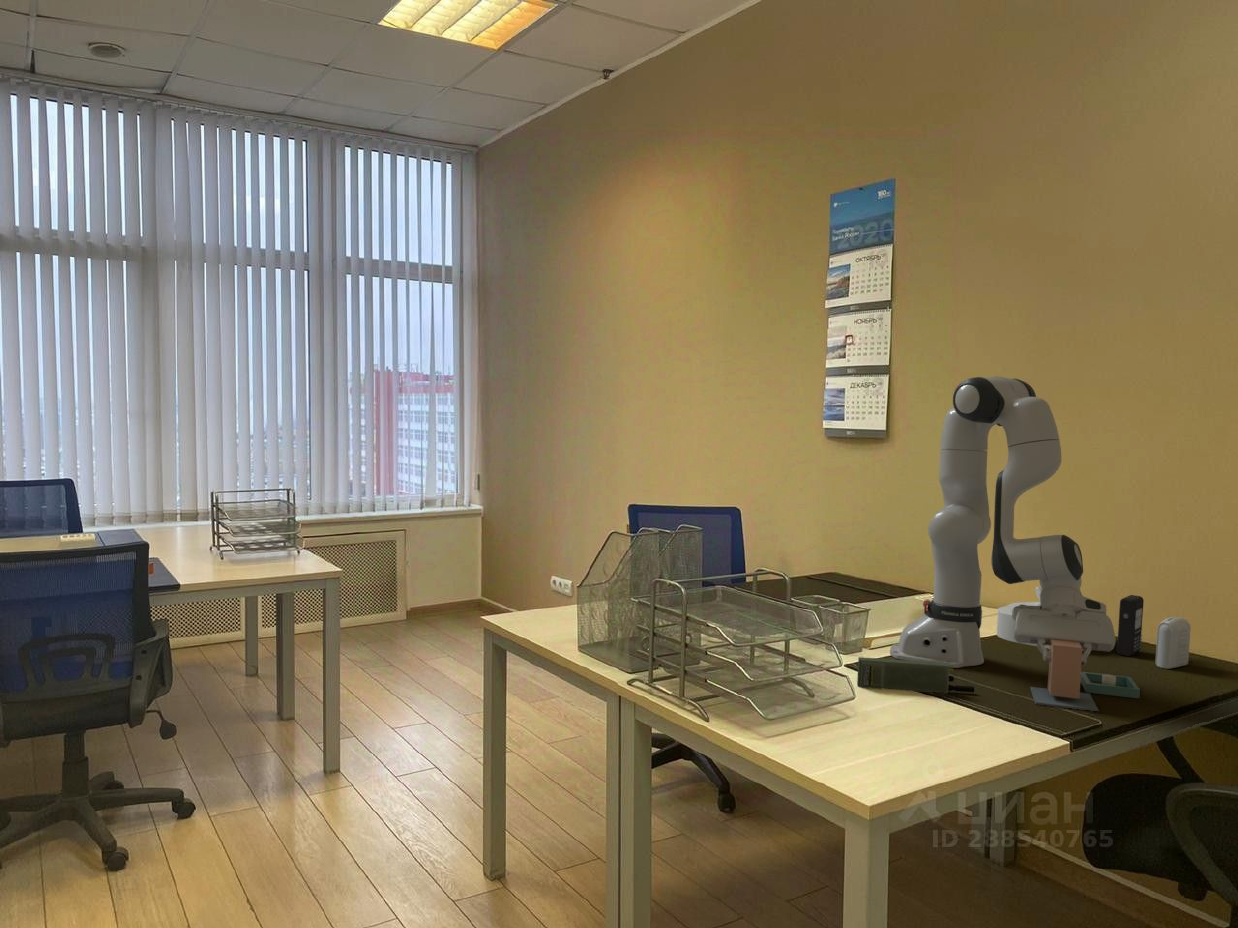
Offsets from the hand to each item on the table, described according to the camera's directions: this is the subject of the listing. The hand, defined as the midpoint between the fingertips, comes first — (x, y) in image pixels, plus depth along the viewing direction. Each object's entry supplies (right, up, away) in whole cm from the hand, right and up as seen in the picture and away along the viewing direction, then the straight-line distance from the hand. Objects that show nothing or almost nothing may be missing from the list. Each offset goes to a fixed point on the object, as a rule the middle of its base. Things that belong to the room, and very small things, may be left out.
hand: (1064, 661), depth 199 cm
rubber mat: (0, -8, 0) cm, 8 cm away
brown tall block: (0, -7, 0) cm, 7 cm away
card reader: (+38, -7, +43) cm, 58 cm away
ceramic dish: (+15, -8, +10) cm, 19 cm away
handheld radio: (-31, -8, +5) cm, 32 cm away
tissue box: (+24, -6, +57) cm, 62 cm away
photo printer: (+42, -8, +32) cm, 54 cm away
